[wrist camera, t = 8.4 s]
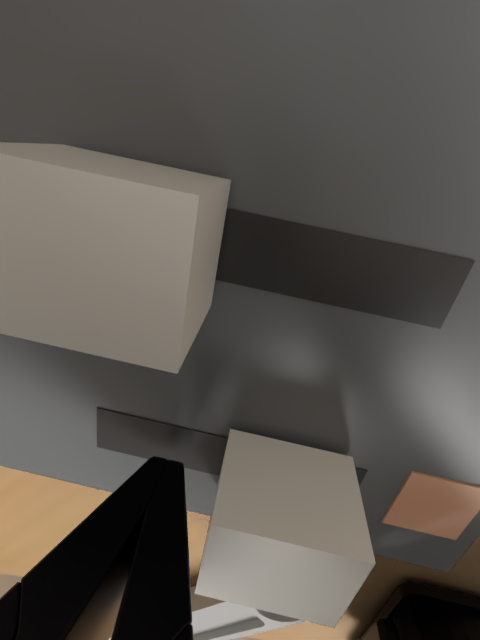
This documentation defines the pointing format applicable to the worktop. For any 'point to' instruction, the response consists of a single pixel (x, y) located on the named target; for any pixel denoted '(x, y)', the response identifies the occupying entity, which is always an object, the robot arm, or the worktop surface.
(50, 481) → the worktop surface
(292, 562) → the tab
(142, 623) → the robot arm
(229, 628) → the adjustable wrench
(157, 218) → the tab
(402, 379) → the switch panel
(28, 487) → the worktop surface
